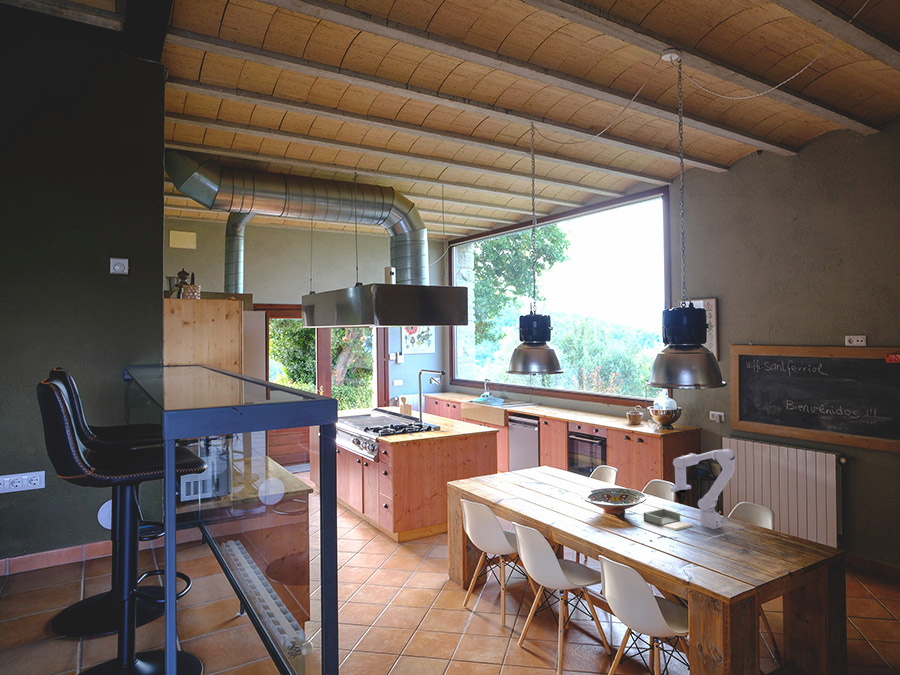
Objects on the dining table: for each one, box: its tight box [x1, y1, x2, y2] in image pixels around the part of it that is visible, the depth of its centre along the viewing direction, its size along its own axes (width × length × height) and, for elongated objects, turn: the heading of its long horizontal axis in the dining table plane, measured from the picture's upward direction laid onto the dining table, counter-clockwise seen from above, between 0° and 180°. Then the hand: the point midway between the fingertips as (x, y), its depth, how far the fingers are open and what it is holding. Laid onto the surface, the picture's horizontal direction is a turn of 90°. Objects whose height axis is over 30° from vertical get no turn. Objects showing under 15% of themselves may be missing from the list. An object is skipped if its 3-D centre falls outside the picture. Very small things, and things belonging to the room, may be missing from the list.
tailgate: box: [662, 520, 694, 531], centre depth 290 cm, size 8×14×1 cm, turn 119°
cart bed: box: [643, 508, 681, 527], centre depth 298 cm, size 11×16×5 cm
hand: (681, 503), depth 302 cm, fingers closed
